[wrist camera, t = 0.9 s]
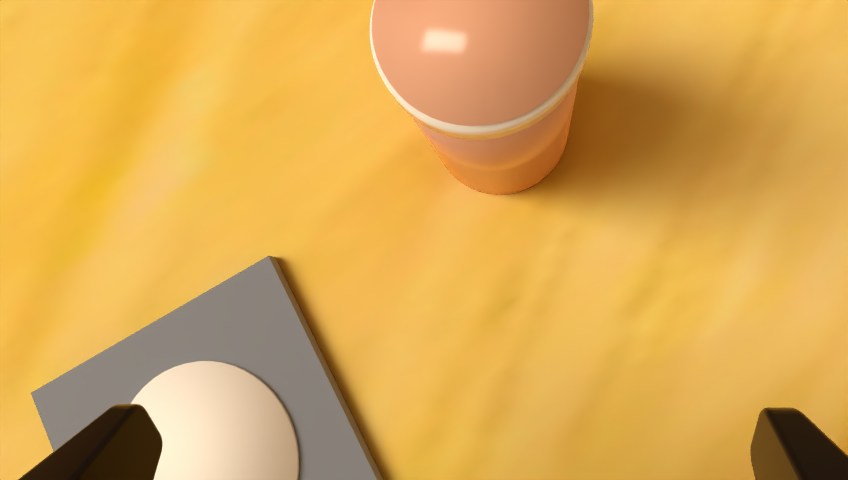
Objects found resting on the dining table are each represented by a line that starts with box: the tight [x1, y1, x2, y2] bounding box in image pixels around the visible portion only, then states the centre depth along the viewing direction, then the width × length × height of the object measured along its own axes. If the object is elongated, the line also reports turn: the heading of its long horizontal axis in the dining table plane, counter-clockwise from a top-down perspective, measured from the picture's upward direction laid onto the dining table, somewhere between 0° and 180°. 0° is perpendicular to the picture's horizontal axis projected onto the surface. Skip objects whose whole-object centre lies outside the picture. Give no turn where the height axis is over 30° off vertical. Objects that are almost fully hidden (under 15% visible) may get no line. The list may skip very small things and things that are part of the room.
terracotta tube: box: [370, 0, 593, 195], centre depth 18 cm, size 5×5×9 cm
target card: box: [31, 256, 383, 480], centre depth 23 cm, size 11×11×1 cm
